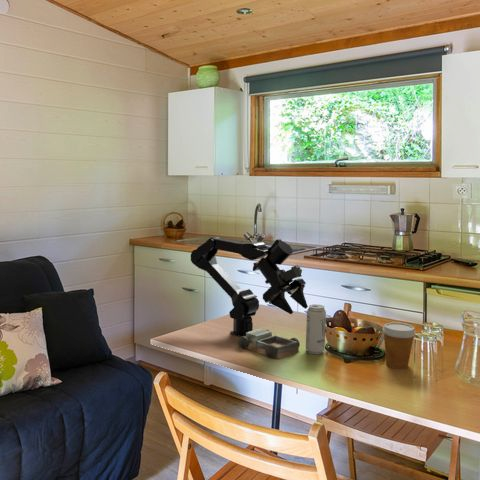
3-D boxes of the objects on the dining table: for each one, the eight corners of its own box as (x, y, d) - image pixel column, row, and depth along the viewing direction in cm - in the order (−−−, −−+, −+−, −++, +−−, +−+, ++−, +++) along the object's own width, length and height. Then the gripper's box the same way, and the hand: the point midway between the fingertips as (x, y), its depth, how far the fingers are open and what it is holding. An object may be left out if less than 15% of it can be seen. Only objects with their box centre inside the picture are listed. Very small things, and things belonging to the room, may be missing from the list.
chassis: (236, 346, 176) (237, 333, 175) (262, 338, 184) (262, 325, 184) (275, 359, 164) (275, 345, 163) (300, 350, 172) (301, 337, 172)
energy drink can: (321, 356, 168) (323, 309, 166) (303, 353, 170) (304, 307, 169) (326, 350, 173) (328, 305, 171) (308, 347, 176) (310, 303, 174)
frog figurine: (388, 350, 175) (390, 329, 174) (369, 351, 173) (370, 330, 172) (380, 344, 180) (381, 324, 180) (361, 345, 179) (362, 325, 178)
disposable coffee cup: (419, 370, 157) (421, 330, 156) (388, 371, 156) (391, 331, 154) (404, 358, 167) (406, 321, 165) (375, 360, 165) (377, 322, 164)
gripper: (271, 261, 168) (300, 301, 162) (301, 255, 182) (329, 291, 177) (250, 282, 173) (278, 322, 168) (281, 274, 188) (307, 310, 183)
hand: (299, 310), depth 174 cm, fingers open, 9 cm apart
